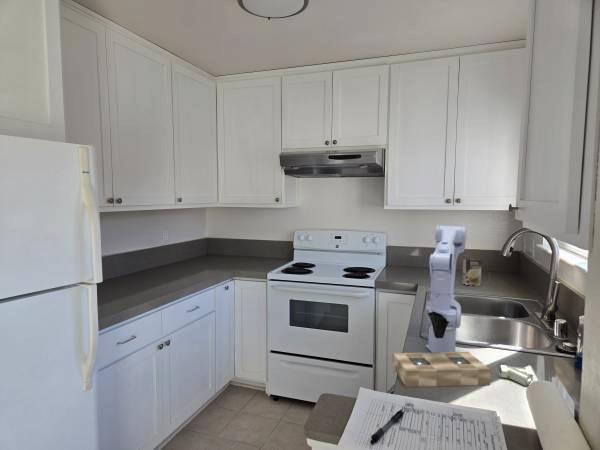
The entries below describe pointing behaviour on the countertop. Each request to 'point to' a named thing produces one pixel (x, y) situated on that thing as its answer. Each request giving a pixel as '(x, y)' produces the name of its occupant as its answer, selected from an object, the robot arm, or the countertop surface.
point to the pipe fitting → (516, 374)
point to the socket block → (440, 369)
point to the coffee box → (471, 271)
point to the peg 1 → (419, 362)
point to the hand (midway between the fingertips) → (438, 337)
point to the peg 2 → (458, 361)
